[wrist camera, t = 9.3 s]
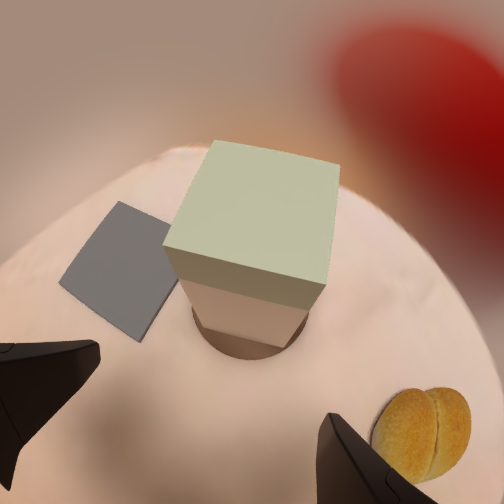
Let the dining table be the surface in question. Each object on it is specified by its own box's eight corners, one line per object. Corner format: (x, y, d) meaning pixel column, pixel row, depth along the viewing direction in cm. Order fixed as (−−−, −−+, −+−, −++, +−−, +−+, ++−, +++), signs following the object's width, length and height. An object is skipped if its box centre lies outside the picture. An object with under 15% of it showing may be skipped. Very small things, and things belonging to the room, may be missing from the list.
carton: (283, 347, 20) (326, 284, 10) (203, 327, 21) (162, 244, 11) (299, 274, 23) (340, 165, 13) (226, 257, 24) (214, 139, 13)
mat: (140, 342, 21) (138, 341, 20) (60, 284, 23) (58, 282, 22) (203, 241, 25) (202, 239, 25) (119, 203, 27) (118, 200, 27)
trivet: (279, 379, 20) (280, 379, 19) (171, 325, 22) (169, 323, 21) (324, 278, 24) (326, 275, 23) (227, 235, 26) (226, 231, 25)
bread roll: (373, 390, 20) (396, 385, 16) (457, 387, 19) (486, 380, 16) (358, 487, 16) (379, 500, 12) (447, 473, 15) (475, 477, 12)
